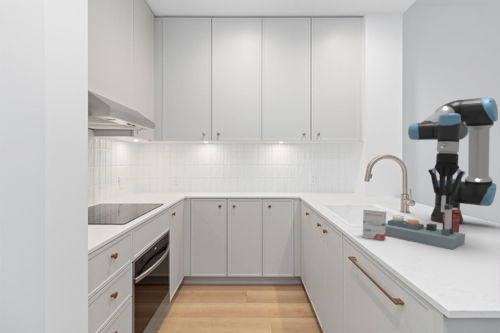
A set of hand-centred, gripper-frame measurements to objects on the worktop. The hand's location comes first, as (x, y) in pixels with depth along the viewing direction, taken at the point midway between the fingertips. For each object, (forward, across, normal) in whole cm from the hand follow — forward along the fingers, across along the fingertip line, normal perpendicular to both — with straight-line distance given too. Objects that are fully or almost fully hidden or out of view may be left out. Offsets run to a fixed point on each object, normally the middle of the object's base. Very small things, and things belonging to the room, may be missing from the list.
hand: (443, 211), depth 132 cm
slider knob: (+9, -5, +3) cm, 11 cm away
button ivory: (+7, -18, 0) cm, 20 cm away
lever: (+8, +2, 0) cm, 8 cm away
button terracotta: (+8, -12, 0) cm, 14 cm away
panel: (+13, -9, 0) cm, 16 cm away
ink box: (+13, -21, -15) cm, 29 cm away
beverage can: (+13, -3, +20) cm, 24 cm away
